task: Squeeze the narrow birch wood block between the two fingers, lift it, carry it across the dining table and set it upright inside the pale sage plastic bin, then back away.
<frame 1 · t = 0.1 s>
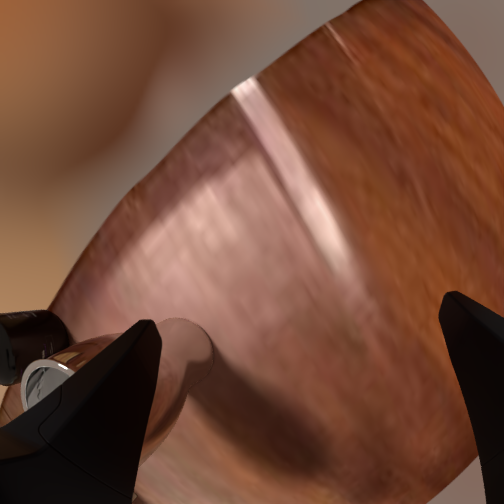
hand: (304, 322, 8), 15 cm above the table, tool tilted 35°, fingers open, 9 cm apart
supplement bottle: (51, 338, 25), on the table
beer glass: (180, 351, 24), on the table
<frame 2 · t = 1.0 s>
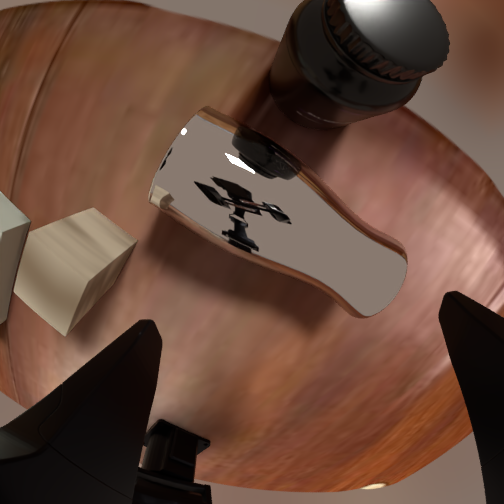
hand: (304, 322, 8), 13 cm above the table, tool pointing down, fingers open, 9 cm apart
supplement bottle: (316, 86, 18), on the table
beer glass: (377, 279, 19), point 3 cm above the table
birch block: (102, 247, 21), on the table
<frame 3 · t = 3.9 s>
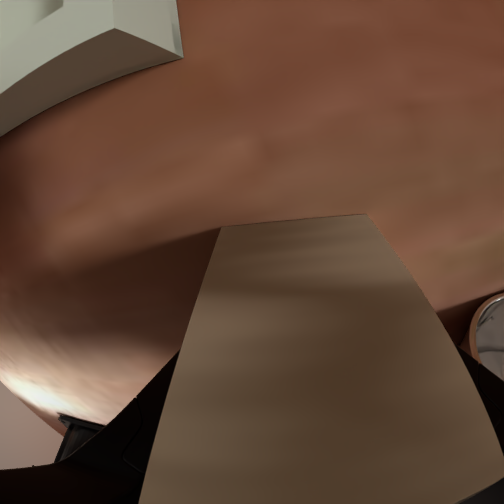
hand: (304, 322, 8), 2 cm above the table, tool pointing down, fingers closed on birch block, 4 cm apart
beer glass: (436, 464, 14), point 3 cm above the table
birch block: (299, 281, 10), on the table, touching gripper
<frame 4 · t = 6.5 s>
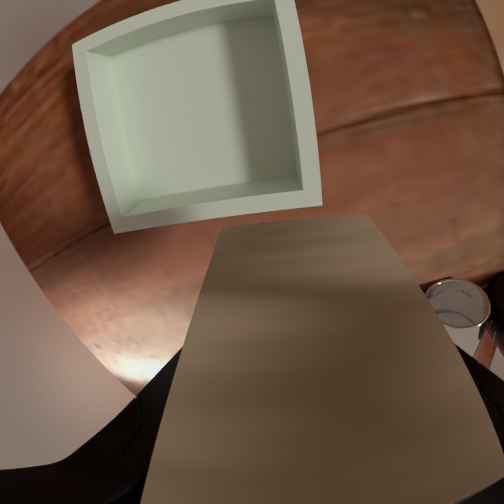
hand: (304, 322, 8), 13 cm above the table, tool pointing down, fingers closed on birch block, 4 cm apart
supplement bottle: (496, 294, 23), on the table
bin: (201, 106, 17), on the table
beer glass: (426, 395, 27), point 3 cm above the table
birch block: (299, 281, 10), point 11 cm above the table, touching gripper
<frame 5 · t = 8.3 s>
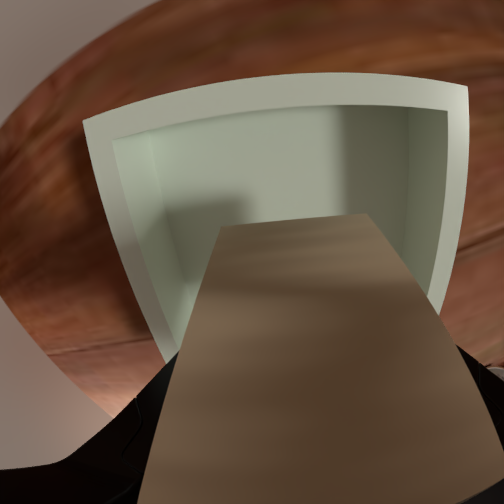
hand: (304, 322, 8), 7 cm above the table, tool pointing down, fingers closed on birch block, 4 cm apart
bin: (290, 225, 14), on the table
birch block: (299, 281, 10), point 5 cm above the table, touching gripper
when the fingers open (4 cm above the table, at t = 9.5 s): birch block drops 2 cm, resting on bin.
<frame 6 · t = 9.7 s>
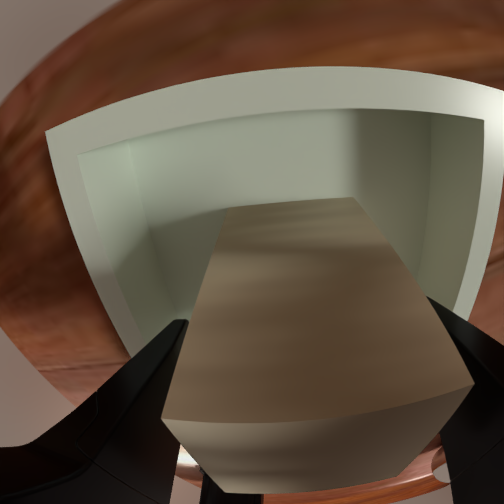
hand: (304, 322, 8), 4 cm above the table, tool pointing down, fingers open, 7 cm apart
bin: (293, 246, 12), on the table
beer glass: (451, 462, 22), point 3 cm above the table
birch block: (295, 256, 11), point 1 cm above the table, touching bin
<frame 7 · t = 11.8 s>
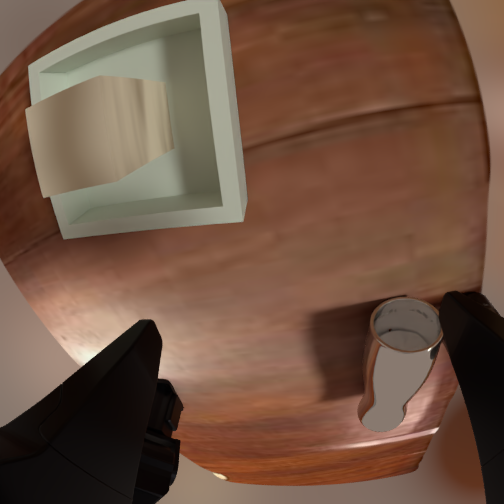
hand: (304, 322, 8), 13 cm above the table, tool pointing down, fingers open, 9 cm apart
bin: (143, 120, 17), on the table
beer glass: (381, 411, 28), point 3 cm above the table
birch block: (138, 121, 17), point 1 cm above the table, touching bin
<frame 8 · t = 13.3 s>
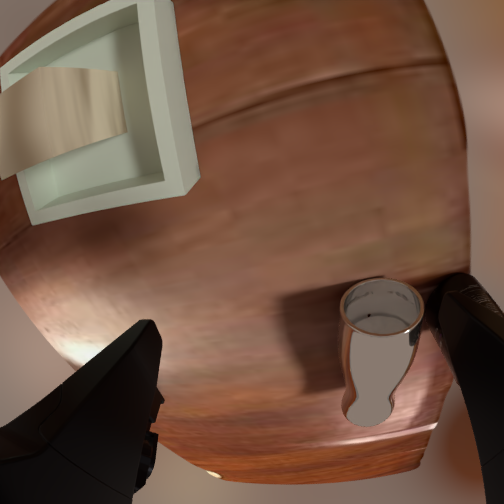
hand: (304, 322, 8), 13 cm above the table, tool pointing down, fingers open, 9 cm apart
supplement bottle: (450, 298, 24), on the table
bin: (101, 109, 17), on the table
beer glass: (368, 404, 27), point 3 cm above the table
birch block: (95, 110, 16), point 1 cm above the table, touching bin
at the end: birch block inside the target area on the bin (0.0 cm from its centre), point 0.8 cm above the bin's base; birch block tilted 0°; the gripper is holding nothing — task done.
